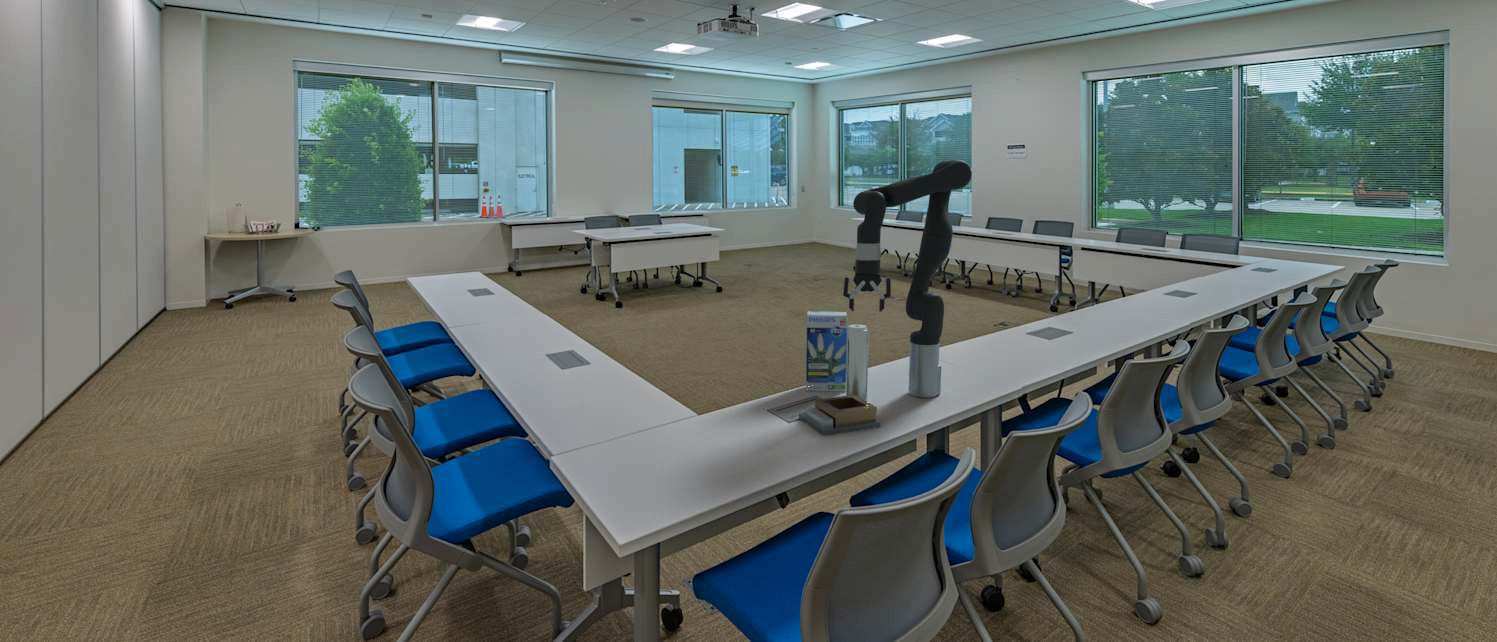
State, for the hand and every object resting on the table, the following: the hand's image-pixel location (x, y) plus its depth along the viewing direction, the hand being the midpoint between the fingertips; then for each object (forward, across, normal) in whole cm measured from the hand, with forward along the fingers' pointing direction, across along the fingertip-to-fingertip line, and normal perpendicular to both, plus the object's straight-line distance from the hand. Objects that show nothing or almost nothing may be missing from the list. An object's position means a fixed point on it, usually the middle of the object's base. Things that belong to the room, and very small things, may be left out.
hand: (866, 310), depth 225 cm
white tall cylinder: (+29, +2, +2) cm, 30 cm away
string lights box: (+29, +12, -15) cm, 35 cm away
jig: (+30, +8, +19) cm, 36 cm away
